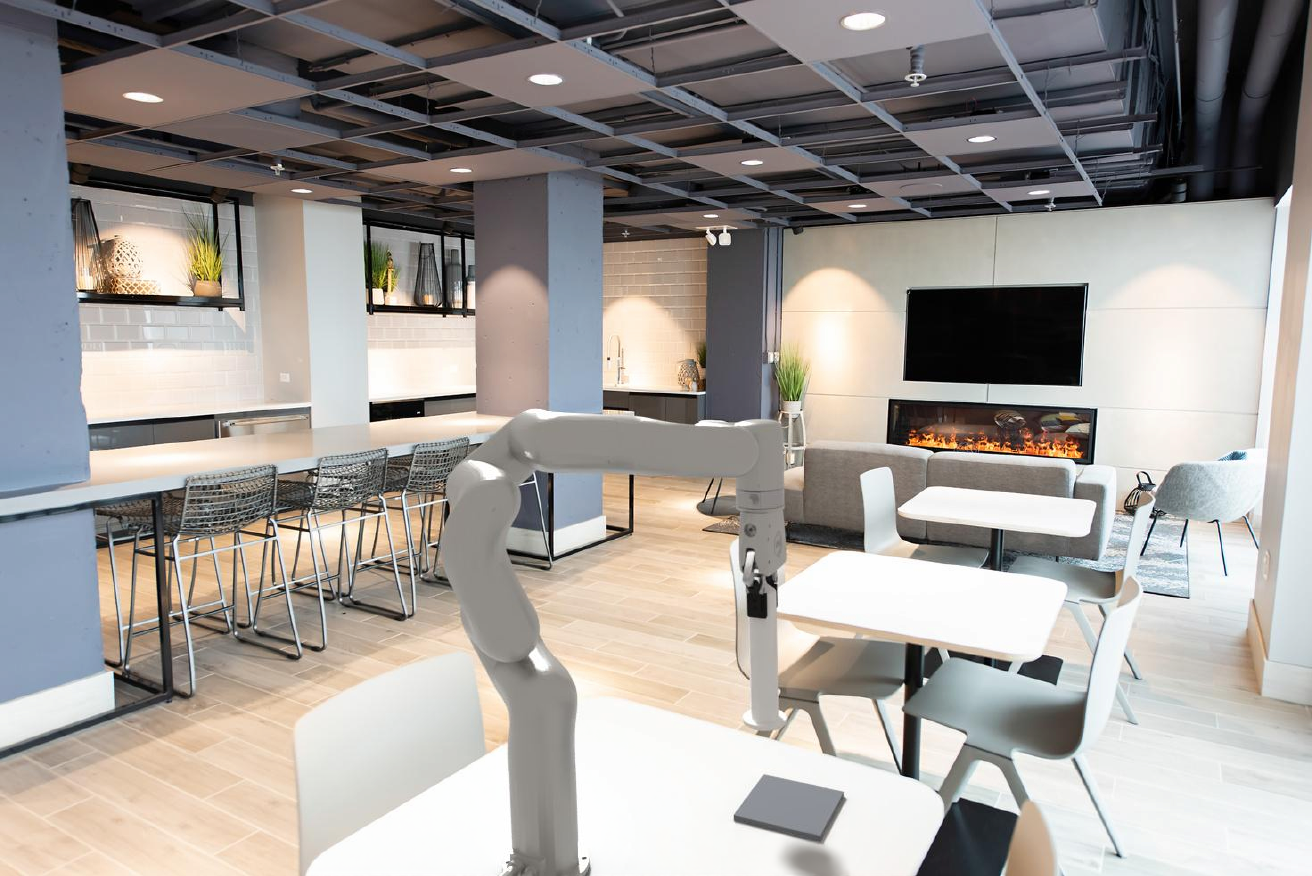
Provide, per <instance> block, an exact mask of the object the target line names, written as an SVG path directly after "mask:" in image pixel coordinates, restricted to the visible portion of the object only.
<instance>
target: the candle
mask: <svg viewBox="0 0 1312 876" xmlns="http://www.w3.org/2000/svg"><path fill="white" fill-rule="evenodd" d="M757 580H758V582H759V584H760V578H759V577H757ZM765 593H767V612H768V616H767V618H766V619H761V618H753V617H748V616H747V619H748V620H747V621H748V653H749V655H748V661H749V690H750V691H749V695H750V696H749V699H750V702H749V703H750V709H748V710H747V711H746V712H745V713H743V715H742V723H743V724H744V726H746V727H748V728H749V729H752V730H756V731H760V732H770V731H777V730H780V729H782V728H784V727H785V726H786V725H787V723H788V717H787V714H786V713H785V712H783V711H782V710H780V704H779V702H780V701H779V699H780V698H779V696H780V695H779V660H778V659H779V658H778V657H779V655H778V653H779V652H778V612H777V611H778V609H777V608H778V607H777V601H776V590H775V589H774V588H773V587H771V586H770V585H769V584H767V582H766V580H765Z"/></svg>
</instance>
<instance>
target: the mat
mask: <svg viewBox="0 0 1312 876" xmlns="http://www.w3.org/2000/svg"><path fill="white" fill-rule="evenodd" d="M844 797H845V791H842V790H838V789H833V788H828V787H823V786H819V785H817V784H811V783H806V782H801V781H797V780H793V779H789V778H788V779H787V778H783V777H779V776H774V775H770V774H766V773H763V775H762V776H761V777H760V779H759V780H758V782H756V784H755V786H754V787H753V788H752V789H751V791H750V792H749V794H748V795H747V796H746V798H745V799H744V800H743V802H742V803H741V804H740V805H739V807H738V808H737V810H736V811H735V812H734V813H733V821H739V822H742V823H745V824H749V825H754V826H758V827H761V828H766V829H770V830H774V831H778V832H783V833H786V834H789V835H794V836H798V837H801V838H805V839H809V840H813V841H817V842H821V840H822V838H823V836H824V834H825V832H826V831H827V829H828V827H829V825H830V823H831V822H832V820H833V817H835V815H836V812H837V810H838V808H839V807H840V805H841V803H842V801H843V799H844Z"/></svg>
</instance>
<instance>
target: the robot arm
mask: <svg viewBox="0 0 1312 876" xmlns="http://www.w3.org/2000/svg"><path fill="white" fill-rule="evenodd" d="M784 458H785V457H784V431H783V426H782V424H781V422H779V421H778V420H775V419H769V418H768V419H766V418H763V419H762V418H760V419H759V418H755V419H746V420H742V421H738V422H726V421H725V422H724V421H721V422H720V421H701V422H698V423H695V424H690V423H689V424H687V423H679V422H678V423H677V422H670V421H664V420H660V419H659V420H658V419H655V418H650V417H644V416H640V415H639V416H638V415H630V414H603V413H601V414H599V413H580V412H576V413H575V412H562V411H561V412H559V411H549V410H545V409H541V408H531V409H528V410H524V411H522V412H520V413H518V414H517V415H515V416H514V417H513V418H511V420H509V421H508V422H506V423H505V424H504V425H503V426H502V427H500V429H498V430H497V431H496V432H495V433H493V434H492V435H491V436H490V437H488V438H487V439H486V440H485V441H484V442H482V443H481V445H478V447H477V448H476V449H474V450H472V452H470V454H468V455H467V456H466V457H465V458H463V460H461V461H460V462H459V463H458V464H457V465H456V466H455V467H454V468H453V469H452V471H451V473H450V474H449V475H448V478H447V481H446V485H445V495H446V500H447V502H448V504H449V507H451V508H452V509H451V510H450V513H449V515H448V517H447V519H446V521H445V524H444V526H443V530H442V535H441V539H440V548H439V549H440V559H441V564H442V566H443V570H444V573H445V575H446V578H447V579H448V582H449V584H450V586H451V588H452V590H453V593H454V595H455V597H456V599H457V601H458V604H459V606H460V610H459V613H460V614H459V615H460V616H459V617H460V622H461V624H462V627H463V629H464V631H465V633H466V635H467V638H468V639H469V642H470V643H471V645H472V648H473V649H474V651H475V653H476V655H477V657H478V658H479V661H480V662H481V665H482V666H483V668H484V669H485V672H486V673H487V676H488V677H489V680H490V681H491V683H492V685H493V687H494V689H495V690H496V692H497V693H498V695H499V696H500V697H501V699H502V702H503V703H504V705H505V706H506V709H507V711H508V720H509V721H508V722H509V723H508V724H509V726H508V735H507V768H508V769H507V770H508V785H509V787H508V788H509V789H508V790H509V804H510V805H509V806H510V807H509V809H510V810H509V811H510V826H511V827H510V829H511V850H510V851H508V853H507V854H506V855H505V857H504V859H503V861H502V867H501V868H502V869H501V870H502V871H501V872H500V873H499V874H497V876H586V875H587V873H588V872H589V869H590V863H591V862H590V853H589V851H588V849H587V847H586V846H585V844H583V843H581V842H579V826H578V821H579V820H578V804H577V803H578V796H577V773H576V772H577V771H576V769H577V768H576V757H575V756H576V752H575V751H576V750H575V749H576V748H575V745H576V742H575V741H576V740H575V733H576V732H575V731H576V730H575V729H576V722H577V712H578V691H577V688H576V684H575V681H574V680H573V677H572V675H571V674H570V673H569V670H568V669H567V668H566V667H565V666H564V665H563V664H562V662H560V660H559V659H558V658H557V657H556V656H554V655H553V653H552V652H551V651H550V650H549V648H548V647H547V646H546V644H545V642H544V640H543V639H542V636H541V624H540V618H539V615H538V612H537V610H536V608H535V607H534V604H533V603H532V601H530V599H529V597H528V595H527V593H526V591H525V588H524V587H523V585H522V583H521V581H520V579H519V578H518V575H517V573H516V572H515V569H514V566H513V564H512V562H511V559H510V557H509V554H508V551H507V547H506V545H507V544H506V543H507V542H506V541H507V536H508V533H509V531H510V529H511V527H512V525H513V524H514V522H515V519H516V518H517V516H518V514H519V512H520V509H521V505H522V504H521V503H522V494H521V493H522V492H521V489H520V487H519V486H521V485H522V484H523V483H524V482H525V481H526V480H527V479H528V478H530V477H531V476H532V475H533V474H534V473H535V472H536V471H539V472H543V473H550V474H599V475H600V474H602V475H603V474H604V475H605V474H606V475H634V476H645V477H651V476H653V477H654V476H655V477H658V476H659V477H679V478H697V479H698V478H699V479H735V508H736V510H737V511H739V525H738V526H739V527H738V562H739V563H738V566H739V571H740V572H741V573H742V582H743V583H744V585H745V594H746V616H747V618H748V617H753V618H761V619H766V618H767V616H768V612H767V593H765V580H766V582H767V584H769V585H770V586H771V587H773V588H774V589H775V590H776V601H777V608H778V607H779V594H778V593H779V592H778V591H779V589H778V580H779V576H778V570H779V569H780V568H781V567H783V566H784V565H785V563H786V562H787V559H788V555H787V552H788V551H787V541H786V540H787V538H786V537H787V536H786V526H785V517H784V516H785V515H784V509H785V508H786V506H785V505H786V504H785V467H784V465H785V461H784ZM755 570H757V571H758V572H755ZM758 577H759V578H760V584H759V582H758V579H755V578H758Z"/></svg>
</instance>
